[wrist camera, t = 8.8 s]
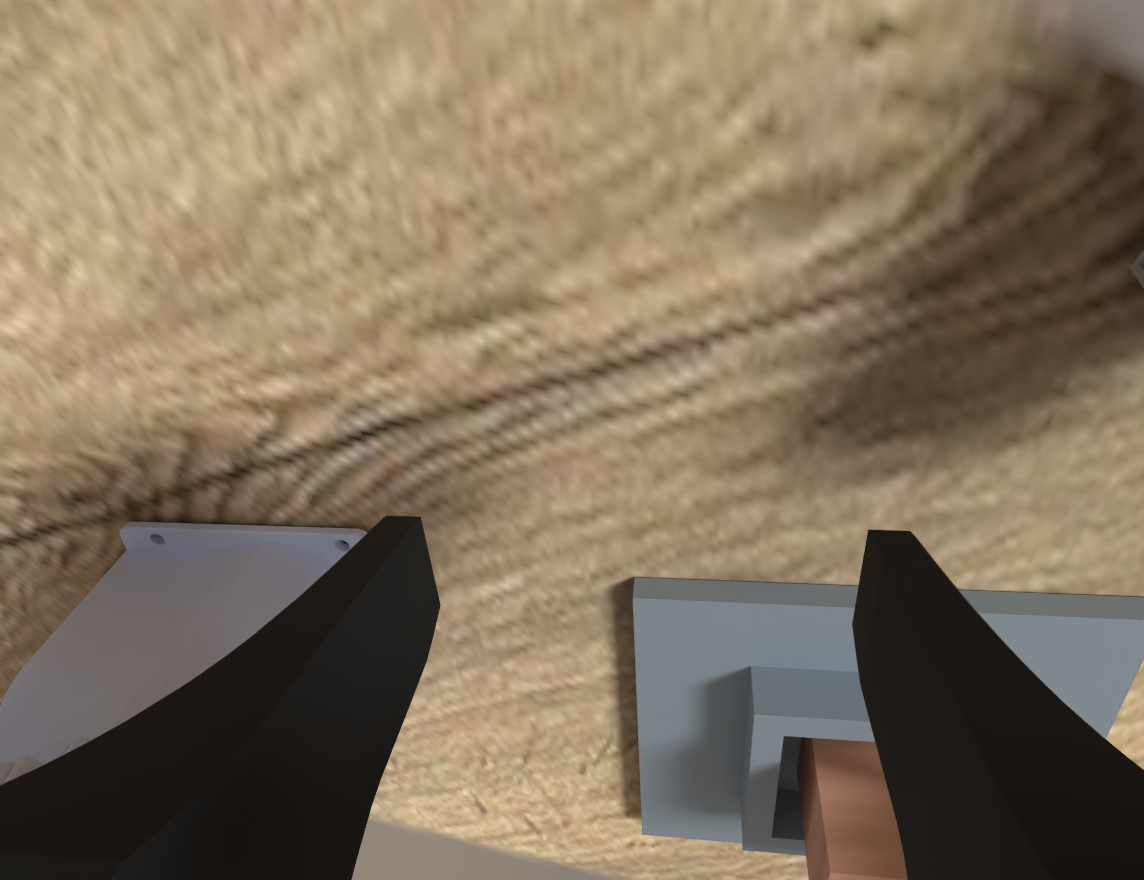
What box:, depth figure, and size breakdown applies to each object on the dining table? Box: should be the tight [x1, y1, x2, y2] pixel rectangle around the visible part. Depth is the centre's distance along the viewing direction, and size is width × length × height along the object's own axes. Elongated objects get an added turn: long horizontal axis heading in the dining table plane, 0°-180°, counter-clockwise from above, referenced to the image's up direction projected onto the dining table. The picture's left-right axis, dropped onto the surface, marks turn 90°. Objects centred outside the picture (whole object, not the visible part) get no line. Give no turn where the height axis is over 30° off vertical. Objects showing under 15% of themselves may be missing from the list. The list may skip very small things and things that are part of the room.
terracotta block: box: [797, 737, 908, 880], centre depth 26 cm, size 4×4×6 cm
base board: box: [633, 577, 1144, 856], centre depth 29 cm, size 16×14×3 cm
